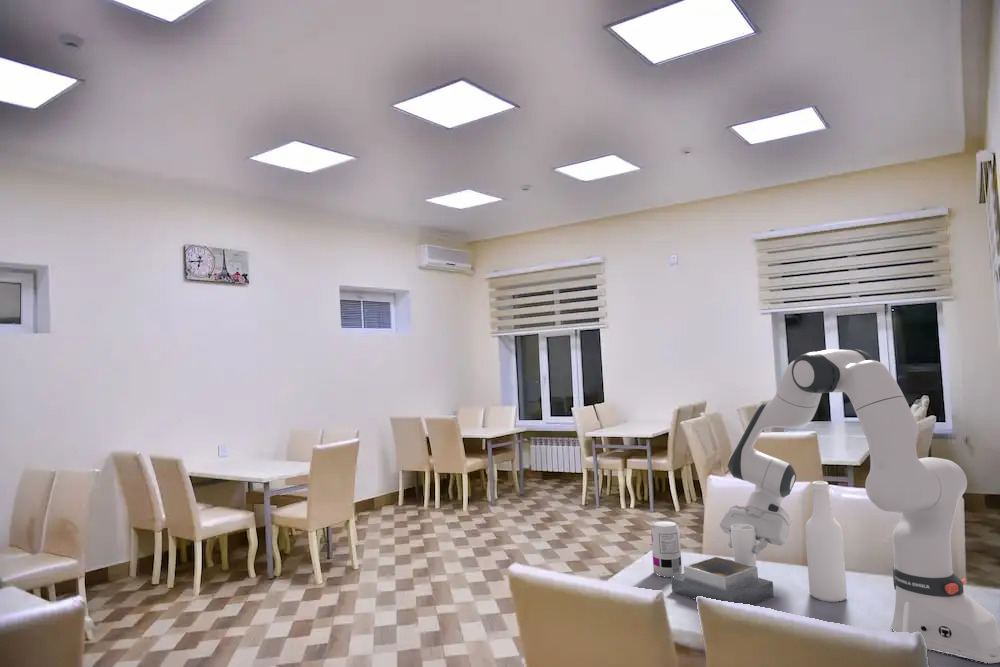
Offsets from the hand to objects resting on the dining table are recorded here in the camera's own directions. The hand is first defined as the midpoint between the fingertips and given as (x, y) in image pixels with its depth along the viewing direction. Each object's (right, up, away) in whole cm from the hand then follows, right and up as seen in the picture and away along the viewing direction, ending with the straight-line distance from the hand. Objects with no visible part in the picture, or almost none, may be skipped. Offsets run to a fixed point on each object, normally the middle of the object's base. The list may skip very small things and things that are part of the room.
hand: (743, 550), depth 186 cm
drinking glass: (+1, -9, 0) cm, 9 cm away
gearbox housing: (-10, -8, -11) cm, 17 cm away
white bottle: (+16, -7, -16) cm, 24 cm away
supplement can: (-20, -10, +8) cm, 23 cm away
